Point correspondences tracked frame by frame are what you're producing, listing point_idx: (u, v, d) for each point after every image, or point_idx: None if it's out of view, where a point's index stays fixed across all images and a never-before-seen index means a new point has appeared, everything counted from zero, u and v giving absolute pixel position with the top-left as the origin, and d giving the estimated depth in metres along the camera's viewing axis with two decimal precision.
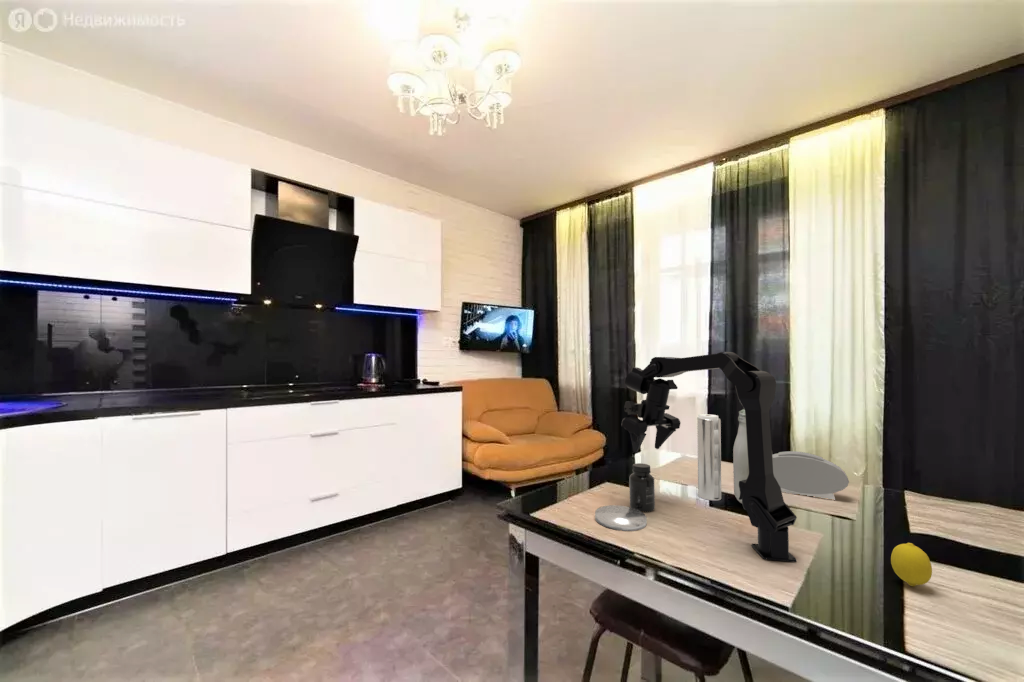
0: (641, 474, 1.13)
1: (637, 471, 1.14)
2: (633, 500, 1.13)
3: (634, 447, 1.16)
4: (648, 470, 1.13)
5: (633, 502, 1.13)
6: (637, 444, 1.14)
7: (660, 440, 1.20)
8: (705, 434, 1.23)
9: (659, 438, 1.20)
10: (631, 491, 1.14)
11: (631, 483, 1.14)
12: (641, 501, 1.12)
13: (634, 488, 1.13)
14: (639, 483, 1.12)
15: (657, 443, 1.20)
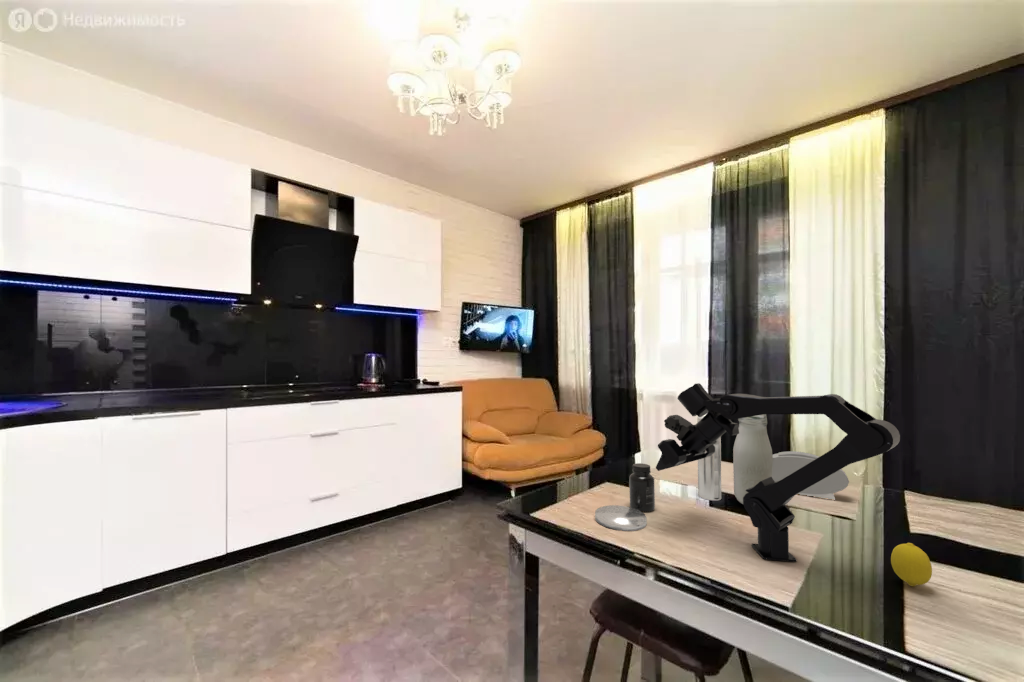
0: (641, 474, 1.13)
1: (637, 471, 1.14)
2: (633, 500, 1.13)
3: (659, 466, 1.05)
4: (648, 470, 1.13)
5: (633, 502, 1.13)
6: (664, 467, 1.03)
7: None
8: None
9: (685, 457, 1.10)
10: (631, 491, 1.14)
11: (631, 483, 1.14)
12: (641, 501, 1.12)
13: (634, 488, 1.13)
14: (639, 483, 1.12)
15: None
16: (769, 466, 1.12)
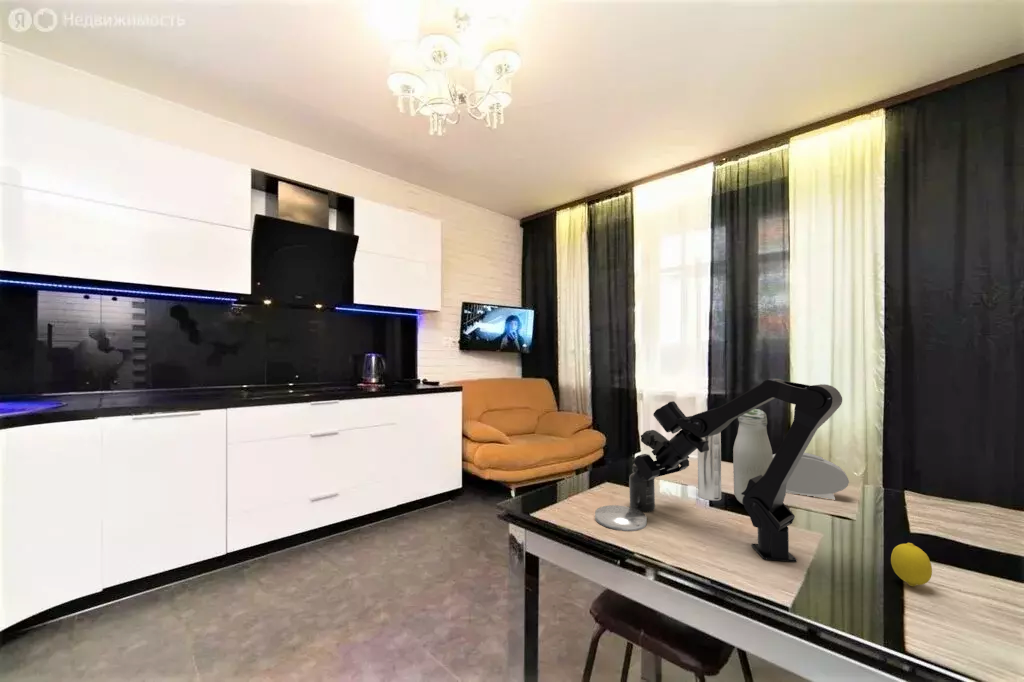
0: None
1: None
2: (633, 500, 1.13)
3: (635, 479, 1.11)
4: None
5: (633, 502, 1.13)
6: (640, 480, 1.09)
7: (660, 472, 1.16)
8: None
9: (661, 470, 1.15)
10: (631, 491, 1.14)
11: (631, 483, 1.14)
12: (641, 501, 1.12)
13: (634, 488, 1.13)
14: (639, 483, 1.12)
15: None
16: None
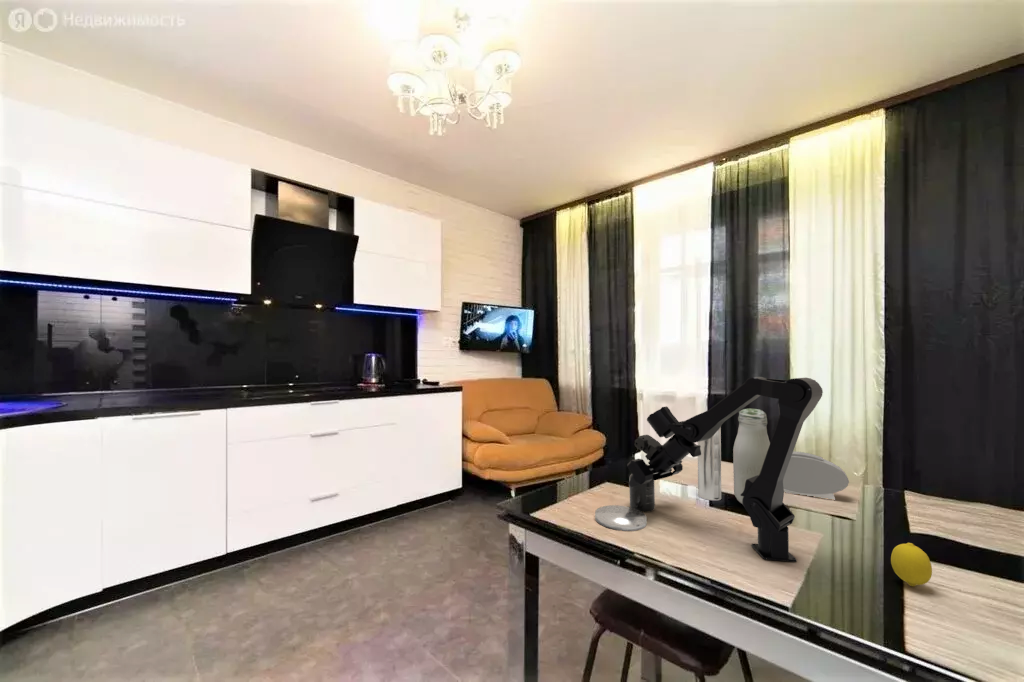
0: None
1: None
2: (633, 500, 1.13)
3: (631, 483, 1.13)
4: None
5: (632, 502, 1.13)
6: (636, 484, 1.11)
7: None
8: None
9: (653, 475, 1.16)
10: (631, 491, 1.14)
11: None
12: (641, 501, 1.12)
13: (634, 488, 1.13)
14: None
15: None
16: None
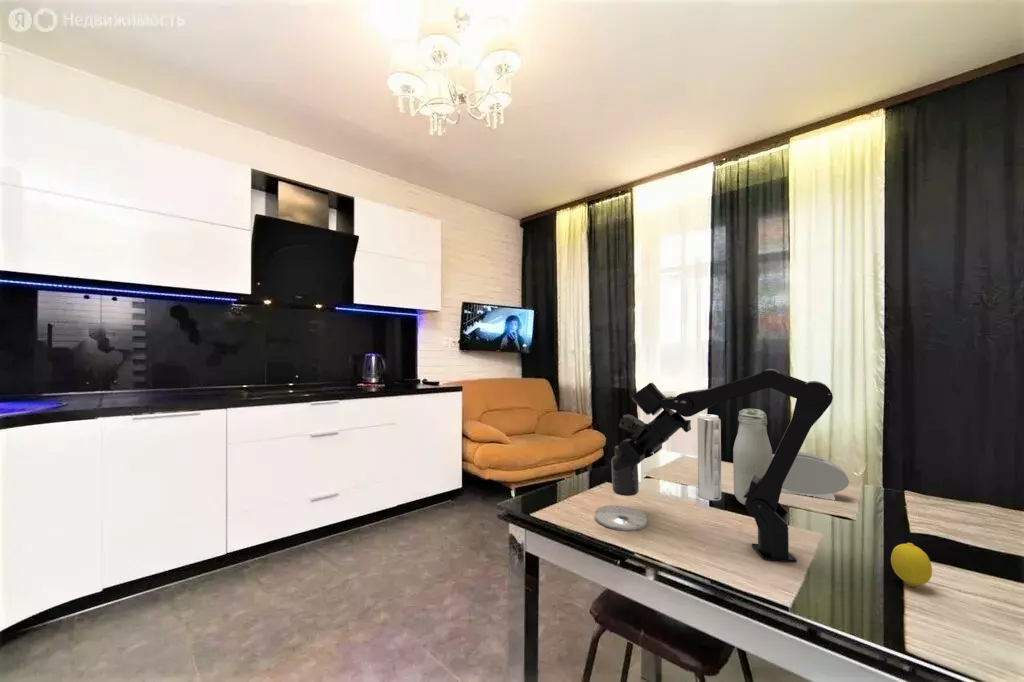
0: None
1: None
2: (619, 484, 1.06)
3: (617, 466, 1.06)
4: None
5: (618, 487, 1.06)
6: (623, 466, 1.04)
7: None
8: (705, 434, 1.23)
9: None
10: (615, 475, 1.07)
11: None
12: (627, 485, 1.05)
13: (619, 472, 1.06)
14: None
15: None
16: None
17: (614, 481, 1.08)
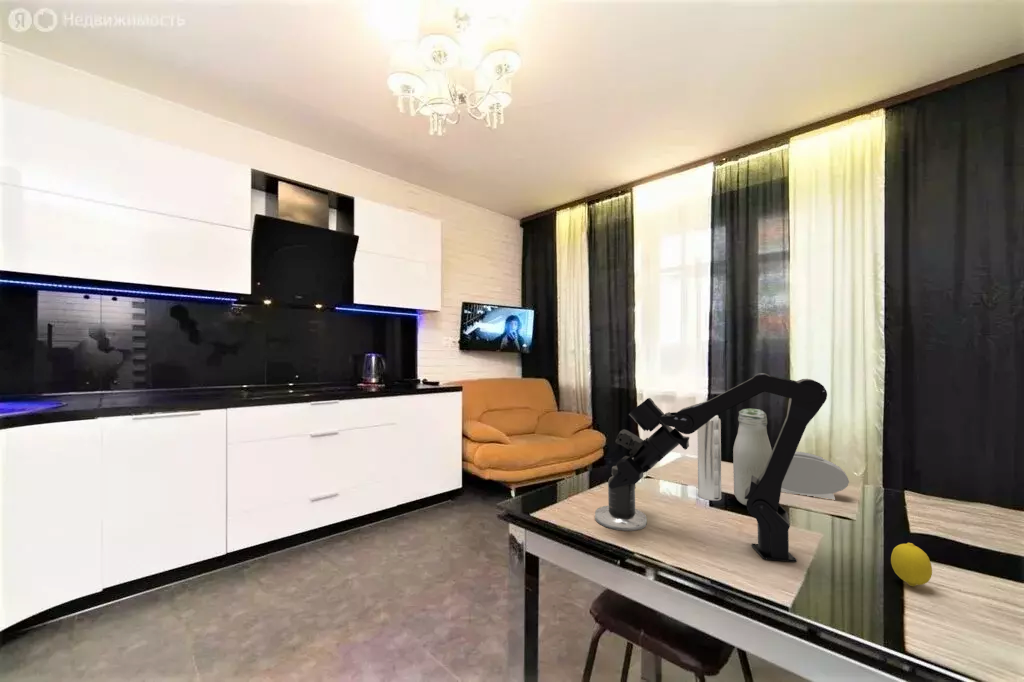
0: None
1: None
2: (616, 507, 1.04)
3: (613, 484, 1.02)
4: None
5: (615, 509, 1.04)
6: (620, 485, 1.01)
7: None
8: (705, 434, 1.23)
9: None
10: (613, 497, 1.05)
11: (613, 488, 1.05)
12: (625, 507, 1.03)
13: (616, 494, 1.04)
14: (623, 488, 1.03)
15: None
16: None
17: (611, 503, 1.05)
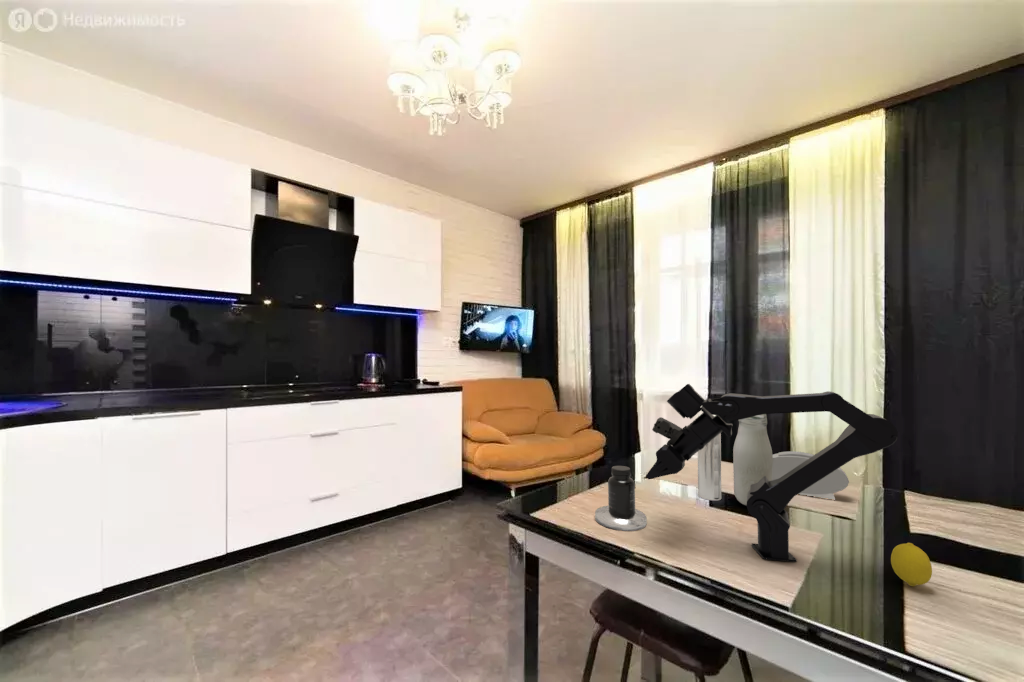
0: (623, 478, 1.04)
1: (619, 475, 1.05)
2: (616, 507, 1.04)
3: (651, 474, 0.97)
4: (629, 473, 1.06)
5: (615, 509, 1.04)
6: (659, 475, 0.96)
7: None
8: None
9: None
10: (613, 497, 1.05)
11: (613, 489, 1.05)
12: (625, 507, 1.03)
13: (616, 494, 1.04)
14: (622, 488, 1.03)
15: None
16: (769, 466, 1.12)
17: (611, 503, 1.05)
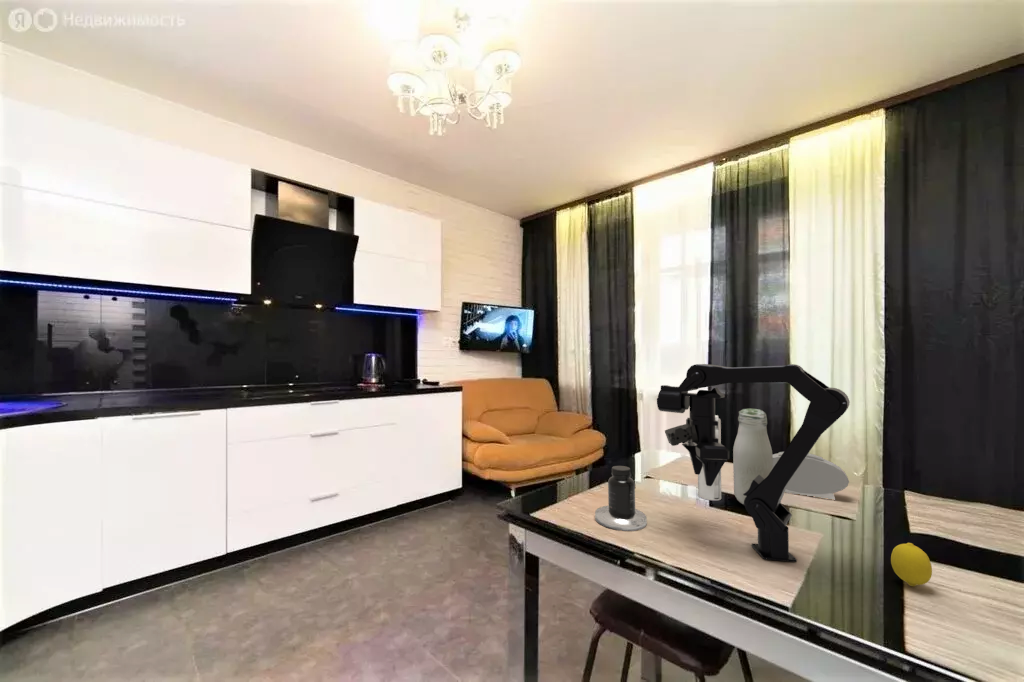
0: (623, 478, 1.04)
1: (619, 475, 1.05)
2: (616, 507, 1.04)
3: (709, 479, 0.94)
4: (629, 473, 1.06)
5: (615, 509, 1.04)
6: (715, 474, 0.93)
7: (699, 463, 1.03)
8: None
9: (698, 460, 1.03)
10: (613, 497, 1.05)
11: (613, 489, 1.05)
12: (625, 507, 1.03)
13: (616, 494, 1.04)
14: (623, 488, 1.03)
15: (697, 468, 1.03)
16: (769, 466, 1.12)
17: (611, 503, 1.05)
